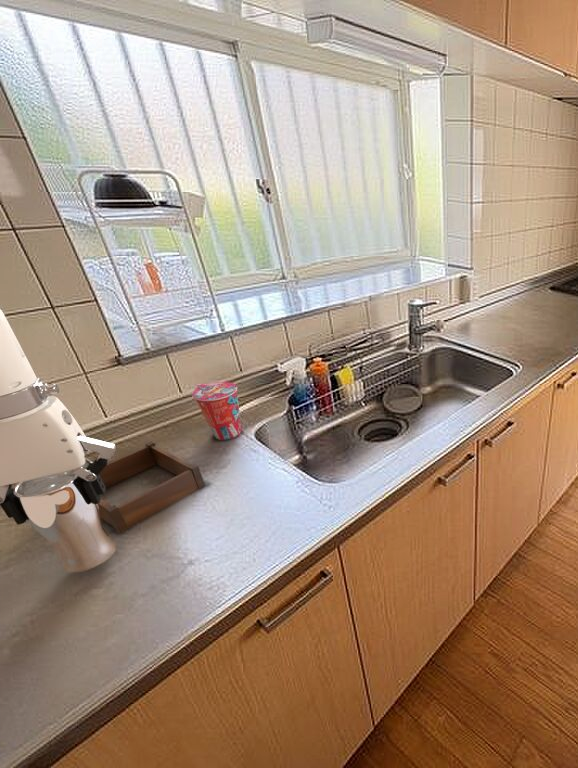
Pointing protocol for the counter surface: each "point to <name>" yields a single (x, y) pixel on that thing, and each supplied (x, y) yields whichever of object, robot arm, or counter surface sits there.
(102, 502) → the tray
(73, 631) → the counter surface
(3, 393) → the robot arm
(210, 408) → the cup
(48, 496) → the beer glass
